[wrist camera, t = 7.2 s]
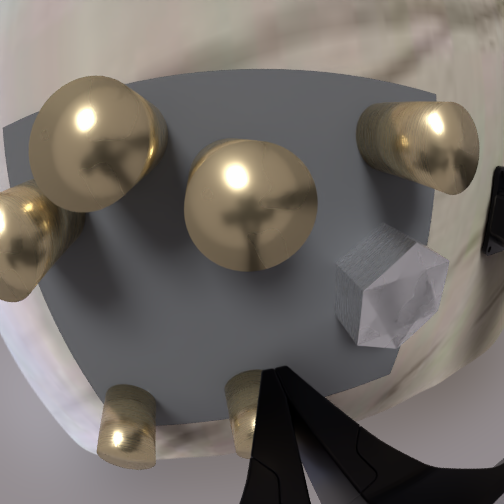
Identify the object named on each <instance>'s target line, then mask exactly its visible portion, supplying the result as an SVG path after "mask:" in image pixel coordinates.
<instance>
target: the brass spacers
mask: <svg viewBox="0 0 504 504" xmlns="http://www.w3.org/2000/svg"><path fill="white" fill-rule="evenodd" d="M167 142H168V130H167V125H166V121H165V119H164V117H163V115H162V114H161V112H160V111H159V110H158V108H157V107H155V106H154V105H153V104H152V103H150V102H149V101H148V100H146V99H145V98H143V97H142V96H141V95H139V94H138V93H136V92H135V91H133V90H132V89H131V88H129V87H128V86H126V85H125V84H123V83H121V82H119V81H118V80H115V79H112V78H109V77H104V76H88V77H83V78H79V79H76V80H74V81H71V82H69V83H68V84H66V85H64V86H62V87H61V88H60V89H58V90H57V91H56V92H55V93H54V94H53V95H52V96H51V97H50V98H49V99H48V100H47V101H46V102H45V104H44V105H43V107H42V108H41V110H40V111H39V113H38V115H37V117H36V119H35V121H34V124H33V127H32V130H31V134H30V140H29V162H30V167H31V171H32V174H33V177H34V179H31V180H29V181H26V182H24V183H21V184H19V185H16V186H14V187H12V188H9V189H7V190H5V191H3V192H0V299H1V300H4V301H7V302H18V301H21V300H23V299H25V298H26V297H27V296H28V295H29V294H30V293H31V292H32V290H33V289H34V288H35V287H36V285H37V284H38V283H39V282H40V280H41V279H42V278H43V277H44V276H45V274H46V273H47V272H48V271H49V270H50V268H51V267H52V266H53V265H54V264H55V263H56V261H57V260H58V259H59V258H60V257H61V256H62V255H63V254H64V252H65V251H66V250H67V249H68V248H69V247H70V246H71V245H72V244H73V243H74V242H75V241H76V239H77V238H78V237H79V235H80V234H81V232H82V230H83V227H84V223H85V212H93V211H97V210H101V209H103V208H106V207H108V206H110V205H111V204H113V203H115V202H116V201H118V200H119V199H120V198H121V197H123V196H124V195H125V194H126V193H127V192H128V191H129V190H130V189H131V188H133V187H134V186H135V185H136V184H137V183H138V182H139V181H140V180H141V179H143V178H144V177H145V176H146V175H147V174H148V173H149V172H151V171H152V170H153V169H154V168H155V167H156V166H157V164H158V163H159V162H160V160H161V159H162V157H163V155H164V153H165V150H166V147H167ZM356 143H357V147H358V150H359V152H360V155H361V156H362V158H363V159H364V161H365V162H366V163H367V164H368V165H369V166H370V167H372V168H373V169H375V170H378V171H381V172H385V173H388V174H391V175H394V176H398V177H401V178H404V179H407V180H410V181H413V182H416V183H419V184H422V185H425V186H427V187H430V188H433V189H436V190H439V191H441V192H444V193H446V194H450V195H456V194H459V193H461V192H463V191H464V190H465V189H466V188H467V187H468V186H469V185H470V183H471V181H472V180H473V178H474V175H475V173H476V170H477V166H478V160H479V139H478V134H477V130H476V127H475V124H474V122H473V120H472V118H471V116H470V114H469V113H468V112H467V111H466V109H465V108H463V107H462V106H461V105H459V104H457V103H454V102H427V101H417V102H385V103H375V104H372V105H370V106H369V107H367V108H366V109H365V110H364V111H363V112H362V114H361V115H360V117H359V120H358V122H357V126H356ZM317 208H318V197H317V191H316V186H315V183H314V180H313V178H312V176H311V174H310V172H309V170H308V169H307V167H306V166H305V164H304V163H303V162H302V161H301V160H300V159H299V158H298V157H297V156H296V155H295V154H293V153H292V152H291V151H289V150H287V149H286V148H284V147H281V146H279V145H277V144H274V143H270V142H265V141H257V140H248V139H237V138H226V139H221V140H217V141H215V142H213V143H211V144H209V145H207V146H206V147H205V148H203V149H202V150H201V151H200V152H199V153H198V154H197V156H196V157H195V159H194V160H193V162H192V164H191V167H190V170H189V175H188V181H187V188H186V194H185V202H184V216H185V223H186V227H187V230H188V233H189V235H190V237H191V239H192V241H193V243H194V244H195V245H196V247H197V248H198V249H199V251H200V252H201V253H202V254H203V255H204V256H206V257H207V258H208V259H209V260H211V261H212V262H214V263H216V264H217V265H220V266H222V267H224V268H227V269H231V270H235V271H244V272H251V271H260V270H264V269H268V268H271V267H274V266H276V265H278V264H280V263H282V262H284V261H285V260H287V259H288V258H290V257H291V256H292V255H293V254H295V253H296V252H297V251H298V250H299V249H300V248H301V246H302V245H303V244H304V243H305V241H306V240H307V238H308V236H309V235H310V233H311V231H312V228H313V226H314V223H315V220H316V215H317ZM261 372H262V370H258V369H256V370H248V371H244V372H241V373H239V374H237V375H235V376H233V377H232V378H231V379H230V380H229V381H228V382H227V383H226V385H225V388H224V390H225V397H226V402H227V408H228V413H229V418H230V424H231V429H232V434H233V439H234V444H235V448H236V453H237V455H239V456H240V457H242V458H246V459H250V458H251V449H252V442H253V434H254V427H255V419H256V411H257V404H258V396H259V388H260V379H261ZM155 435H156V400H155V398H154V397H153V396H152V395H151V394H150V393H149V392H147V391H146V390H144V389H142V388H139V387H137V386H133V385H127V384H118V385H114V386H112V387H110V388H109V389H108V390H107V392H106V396H105V402H104V407H103V413H102V418H101V425H100V431H99V438H98V445H97V454H98V456H99V457H100V458H102V459H103V460H105V461H106V462H109V463H110V464H113V465H116V466H119V467H122V468H127V469H136V470H139V469H140V470H142V469H149V468H152V467H154V466H155V464H156V451H155Z"/></svg>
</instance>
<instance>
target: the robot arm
mask: <svg viewBox="0 0 504 504" xmlns="http://www.w3.org/2000/svg"><path fill="white" fill-rule="evenodd" d="M503 250H504V167H503V166H497V167H496V170H495V178H494V188H493V196H492V203H491V209H490V215H489V221H488V226H487V231H486V236H485V241H484V245H483V250H482V251H483V253H484V254H485V255H487V256H489V255H492V254H494V253H497V252H500V251H503ZM301 461H302V462H301ZM302 464H303V466H304V468H305V470H306V472H307V474H308V477H309V478H310V481H311V483H312V485H313V487H314V489H315V491H316V493H317V495H318V497H319V500H320V502H321V504H504V459H503V460H501V461H500V462H499V463H498V464H496V465H495V466H494V467H493V468H484V469H483V468H482V469H455V468H454V469H453V468H452V469H451V468H438V467H433V466H430V465H427V464H424V463H422V462H420V461H418V460H416V459H414V458H411V457H410V456H408V455H406V454H404V453H402V452H400V451H398V450H396V449H395V448H393V447H391V446H389V445H388V444H386V443H384V442H383V441H381V440H379V439H378V438H376V437H375V436H374V435H372V434H371V433H369V432H368V431H367V430H366V429H364V428H363V427H362V426H360V427H359V424H358V423H356V422H355V421H354V420H352V419H351V418H350V417H349V416H347V415H346V414H345V413H344V412H342V411H341V410H340V409H339V408H337V407H336V406H335V405H334V404H332V403H331V402H330V401H329V400H327V399H326V398H325V397H324V396H323V395H321V394H320V393H319V392H318V391H317V390H315V389H314V388H313V387H312V386H311V385H309V384H308V383H307V382H306V381H305V380H303V379H302V378H301V377H300V376H299V375H298V374H296V373H295V372H294V371H293V370H292V369H291V368H290V367H288V366H286V365H284V366H279V367H276V368H275V369H274V368H270V369H265V370H262V372H261V379H260V388H259V396H258V404H257V411H256V419H255V427H254V434H253V442H252V449H251V458H250V463H249V469H248V475H247V480H246V484H245V487H244V491H243V495H242V498H241V501H240V504H311V502H310V498H309V494H308V489H307V485H306V480H305V476H304V471H303V466H302Z"/></svg>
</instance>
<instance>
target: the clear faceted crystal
mask: <svg viewBox="0 0 504 504" xmlns="http://www.w3.org/2000/svg"><path fill="white" fill-rule="evenodd" d="M448 266H449V260H448V259H446V258H445V257H443V256H441V255H440V254H438V253H437V252H435V251H434V250H432V249H430V248H429V247H427V246H426V245H424V244H422V243H421V242H419V241H417V240H415V239H414V238H412V237H410V236H408V235H406V234H404V233H402V232H400V231H399V230H397V229H395V228H393V227H391V226H389V225H387V224H385V223H382V224H381V225H379V226H378V227H377V228H376V229H375V230H374V231H373V232H372V233H370V234H369V235H368V236H367V237H366V238H365V239H364V240H362V241H361V242H360V243H359V244H358V245H357V246H355V247H354V248H353V249H352V250H351V251H350V252H348V253H347V254H346V255H345V256H344V257H342V258H341V259H340V260H339V261H338V262H337V263H336V288H335V315H336V317H337V318H338V319H339V321H340V322H341V324H342V325H343V326H344V328H345V329H346V330H347V332H348V333H349V335H350V336H351V337H352V339H353V340H354V342H355V343H356V344H357V345H358V346H369V347H381V348H394V349H397V348H398V347H399V346H400V345H401V344H403V343H404V342H405V341H406V340H407V339H408V338H409V337H411V336H412V335H413V334H414V333H415V332H416V331H417V330H418V329H419V328H420V327H422V326H423V325H424V324H425V323H426V322H427V321H428V320H429V319H430V318H431V317H432V316H433V315H434V314H435V313H436V312H437V311H438V308H439V304H440V301H441V297H442V293H443V289H444V284H445V280H446V275H447V271H448Z"/></svg>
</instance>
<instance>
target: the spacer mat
mask: <svg viewBox="0 0 504 504" xmlns="http://www.w3.org/2000/svg"><path fill="white" fill-rule="evenodd" d="M125 85H126V86H128V87H129V88H131V89H132V90H133V91H135V92H136V93H138V94H139V95H141V96H142V97H143V98H145V99H146V100H148V101H149V102H150V103H152V104H153V105H154V106H155V107H157V108H158V110H159V111H160V112H161V114H162V115H163V117H164V119H165V121H166V125H167V130H168V142H167V147H166V150H165V153H164V155H163V157H162V159H161V160H160V162H159V163H158V164H157V166H156V167H155V168H154V169H153V170H152V171H151V172H149V173H148V174H147V175H146V176H145V177H144V178H143V179H141V180H140V181H139V182H138V183H137V184H136V185H135V186H134V187H133V188H131V189H130V190H129V191H128V192H127V193H126V194H125V195H124V196H123V197H121V198H120V199H119V200H118V201H116V202H115V203H113V204H111V205H110V206H108V207H106V208H103V209H101V210H97V211H93V212H85V223H84V227H83V230H82V232H81V234H80V235H79V237H78V238H77V239H76V241H75V242H74V243H73V244H72V245H71V246H70V247H69V248H68V249H67V250H66V251H65V252H64V254H63V255H62V256H61V257H60V258H59V259H58V260H57V261H56V263H55V264H54V265H53V266H52V267H51V268H50V270H49V271H48V272H47V273H46V274H45V276H44V277H43V278H42V279H41V280H40V282H39V283H38V284H39V287H40V289H41V292H42V294H43V296H44V299H45V301H46V303H47V306H48V308H49V310H50V312H51V314H52V317H53V319H54V321H55V323H56V325H57V327H58V329H59V331H60V333H61V335H62V337H63V339H64V341H65V342H66V344H67V346H68V348H69V350H70V352H71V353H72V355H73V357H74V359H75V360H76V362H77V364H78V366H79V367H80V369H81V370H82V372H83V374H84V375H85V377H86V379H87V380H88V382H89V383H90V385H91V386H92V388H93V389H94V391H95V392H96V394H97V395H98V397H99V398H100V400H101V401H102V402H103V404H104V402H105V396H106V392H107V390H108V389H109V388H110V387H112V386H114V385H118V384H127V385H133V386H137V387H139V388H142V389H144V390H146V391H147V392H149V393H150V394H151V395H152V396H153V397H154V398H155V400H156V426H157V425H175V424H187V423H197V422H206V421H214V420H222V419H228V418H229V413H228V408H227V402H226V397H225V390H224V388H225V385H226V383H227V382H228V381H229V380H230V379H231V378H232V377H233V376H235V375H237V374H239V373H241V372H244V371H248V370H256V369H258V370H265V369H270V368H274V369H275V368H276V367H279V366H284V365H286V366H288V367H290V368H291V369H292V370H293V371H294V372H295V373H296V374H298V375H299V376H300V377H301V378H302V379H303V380H305V381H306V382H307V383H308V384H309V385H311V386H312V387H313V388H314V389H315V390H317V391H318V392H319V393H320V394H321V395H323V396H324V397H326V396H329V395H333V394H336V393H339V392H342V391H345V390H348V389H351V388H354V387H357V386H359V385H362V384H365V383H368V382H370V381H373V380H376V379H378V378H381V377H383V376H386V375H388V374H390V372H391V370H392V367H393V365H394V362H395V359H396V357H397V354H398V351H399V348H400V346H401V345H400V346H399V347H398V348H397V349H394V348H381V347H369V346H358V345H357V344H356V343H355V342H354V340H353V339H352V337H351V336H350V335H349V333H348V332H347V330H346V329H345V328H344V326H343V325H342V324H341V322H340V321H339V319H338V318H337V317H336V315H335V288H336V263H337V262H338V261H339V260H340V259H341V258H342V257H344V256H345V255H346V254H347V253H348V252H350V251H351V250H352V249H353V248H354V247H355V246H357V245H358V244H359V243H360V242H361V241H362V240H364V239H365V238H366V237H367V236H368V235H369V234H370V233H372V232H373V231H374V230H375V229H376V228H377V227H378V226H379V225H381V224H382V223H385V224H387V225H389V226H391V227H393V228H395V229H397V230H399V231H400V232H402V233H404V234H406V235H408V236H410V237H412V238H414V239H415V240H417V241H419V242H421V243H422V244H424V245H426V246H427V242H428V236H429V230H430V224H431V217H432V209H433V200H434V191H435V189H433V188H430V187H427V186H425V185H422V184H419V183H416V182H413V181H410V180H407V179H404V178H401V177H398V176H394V175H391V174H388V173H385V172H381V171H378V170H375V169H373V168H372V167H370V166H369V165H368V164H367V163H366V162H365V161H364V159H363V158H362V156H361V155H360V152H359V150H358V147H357V143H356V126H357V122H358V120H359V117H360V115H361V114H362V112H363V111H364V110H365V109H366V108H367V107H369V106H370V105H372V104H375V103H385V102H417V101H427V102H436V94H433V93H430V92H426V91H423V90H419V89H415V88H411V87H407V86H403V85H399V84H395V83H390V82H385V81H381V80H375V79H370V78H364V77H358V76H351V75H344V74H336V73H328V72H317V71H305V70H286V69H238V70H219V71H207V72H196V73H187V74H180V75H172V76H166V77H160V78H154V79H148V80H143V81H138V82H133V83H129V84H125ZM38 113H39V112H36V113H34V114H32V115H29V116H27V117H25V118H23V119H20V120H18V121H16V122H14V123H12V124H10V125H8V126H6V127H4V128H3V137H4V147H5V156H6V164H7V171H8V177H9V183H10V188H12V187H14V186H16V185H19V184H21V183H24V182H26V181H29V180H31V179H34V177H33V174H32V171H31V167H30V162H29V140H30V134H31V130H32V127H33V124H34V121H35V119H36V117H37V115H38ZM226 138H237V139H248V140H257V141H265V142H270V143H274V144H277V145H279V146H281V147H284V148H286V149H287V150H289V151H291V152H292V153H293V154H295V155H296V156H297V157H298V158H299V159H300V160H301V161H302V162H303V163H304V164H305V166H306V167H307V169H308V170H309V172H310V174H311V176H312V178H313V180H314V183H315V186H316V191H317V197H318V208H317V215H316V220H315V223H314V226H313V228H312V231H311V233H310V235H309V236H308V238H307V240H306V241H305V243H304V244H303V245H302V246H301V248H300V249H299V250H298V251H297V252H296V253H295V254H293V255H292V256H291V257H290V258H288V259H287V260H285V261H284V262H282V263H280V264H278V265H276V266H274V267H271V268H268V269H264V270H260V271H251V272H244V271H235V270H231V269H227V268H224V267H222V266H220V265H217V264H216V263H214V262H212V261H211V260H209V259H208V258H207V257H206V256H204V255H203V254H202V253H201V252H200V251H199V249H198V248H197V247H196V245H195V244H194V243H193V241H192V239H191V237H190V235H189V233H188V230H187V227H186V223H185V216H184V202H185V194H186V188H187V181H188V175H189V170H190V167H191V164H192V162H193V160H194V159H195V157H196V156H197V154H198V153H199V152H200V151H201V150H202V149H203V148H205V147H206V146H207V145H209V144H211V143H213V142H215V141H217V140H221V139H226Z"/></svg>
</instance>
